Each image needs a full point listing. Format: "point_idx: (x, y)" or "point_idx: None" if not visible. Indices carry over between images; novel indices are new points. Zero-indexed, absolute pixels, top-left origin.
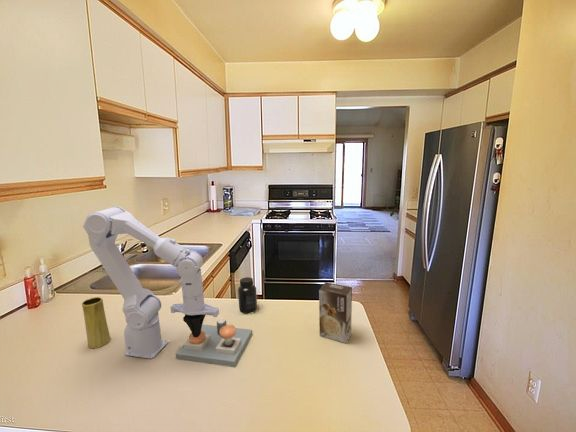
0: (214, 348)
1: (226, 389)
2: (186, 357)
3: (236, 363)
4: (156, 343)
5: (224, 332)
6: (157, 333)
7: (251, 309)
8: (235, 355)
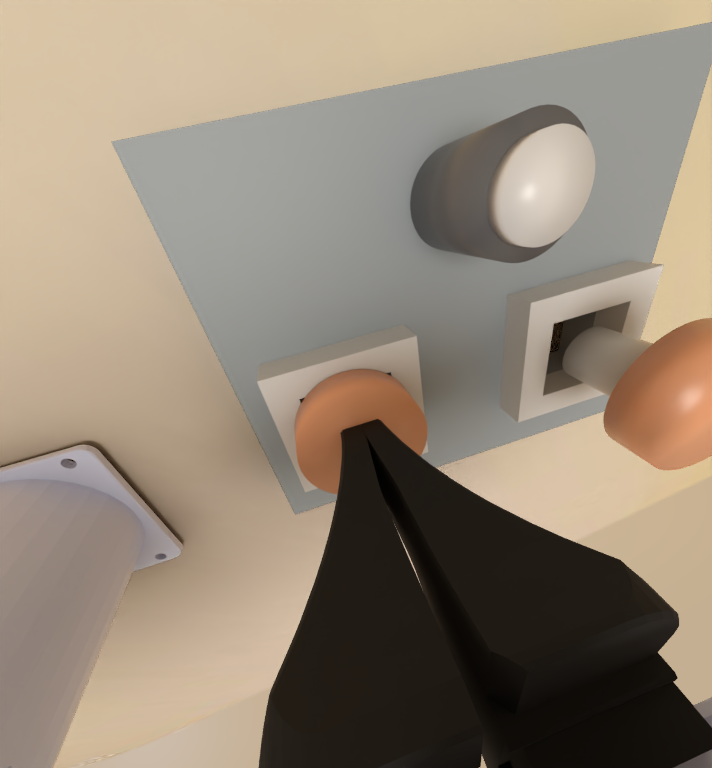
0: (479, 388)
1: (572, 476)
2: None
3: None
4: (121, 575)
5: (692, 450)
6: (71, 649)
7: None
8: None
